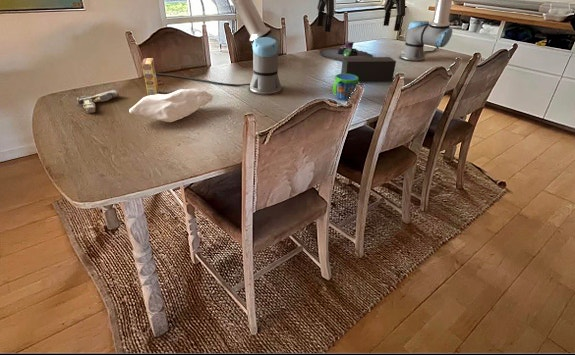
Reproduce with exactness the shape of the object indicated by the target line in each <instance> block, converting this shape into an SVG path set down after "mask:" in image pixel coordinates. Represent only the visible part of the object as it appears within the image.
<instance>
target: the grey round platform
mask: <svg viewBox="0 0 575 355" xmlns="http://www.w3.org/2000/svg"><path fill="white" fill-rule="evenodd" d="M353 47H354V41H349V40H347V41H346V43H345V44H344V47H343V46H338V48H326V49H322V50H320V51H319V54H320V55H321V56H323V57H326V58H327V59H333V60H337V61H342V60H343V57H374V55H373V54H372V53H368V52H367V51H362V50H359V49H357V48H353Z"/></svg>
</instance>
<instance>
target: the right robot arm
mask: <svg viewBox="0 0 575 355" xmlns="http://www.w3.org/2000/svg"><path fill="white" fill-rule="evenodd" d="M452 4H453V0H436V1H435V7H434V13H433V17H432V20H431V21H430V20H414V21H410V22H409V24H408V28H407V33H406V38H405V43H404V47H403V48H402V50H401V52H400V53H399V59H401V60H404V61H408V62H423V61H424V59H425V53H434V52H436V51H437V50H438V49H440V48H444V47H445V46H446V45H448V43H449V42H450V40H451V38H452V36H453V28H452V27H451V22H450V21H449V20H450V19H449V18H450V14H451V8H452ZM394 6H396V13H397V15H395V21H394V28H393V31H394V32H400V30H401V26H402V20H403V17H405V16H406V0H386V1H385V4H384V7H383V10H384V17H383V18H384V19H383V25H382V26H383V27H388V26H389V25H390V20H391V14H392V9H393V8H394ZM389 27H390V26H389ZM425 45H427V46H432V47H435V49H432V50H424V47H425ZM436 48H437V49H436Z"/></svg>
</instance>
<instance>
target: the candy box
mask: <svg viewBox="0 0 575 355" xmlns="http://www.w3.org/2000/svg"><path fill="white" fill-rule="evenodd" d="M141 66H142V73H143V78H144V82H145V87H146V92H147V96H150V95H156V94H159V91H160V90H159V84H158V79H157V75H156V73H157V72H156V66H155V62H154V58H153V57H151V58H150V57H149V58H146V57H145V58H143V60H142V63H141Z"/></svg>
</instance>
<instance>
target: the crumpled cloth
mask: <svg viewBox="0 0 575 355" xmlns="http://www.w3.org/2000/svg"><path fill="white" fill-rule="evenodd" d="M213 97H214V96H213V94H212V93H210V92H208V91H206V90H203V89H201V88H187V89H186V88H185V89H184V88H183V89H177V90H175V91H173V92H171V93H167V94H163V93H158V94H156V95H150V96H148V95H146V96H144V97H142V98H141V99H140V100H139V101H138V102H137V103H136V104H134V105H133V106H132V107H131V108H129V114H130V115H135V116H140V117H145V118H146V119H149V120H152V121H155V120H158V121H163V122H166V123H174V122H176V121H178V120H181V119H183V118H185V117H188V116H190V115H192V114H193V113H195V112H196V111H197V110H199V109H200V108H202V107H204V106H206V105H207V104H210V102H211V101H212V100H213V99H214V98H213Z"/></svg>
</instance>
